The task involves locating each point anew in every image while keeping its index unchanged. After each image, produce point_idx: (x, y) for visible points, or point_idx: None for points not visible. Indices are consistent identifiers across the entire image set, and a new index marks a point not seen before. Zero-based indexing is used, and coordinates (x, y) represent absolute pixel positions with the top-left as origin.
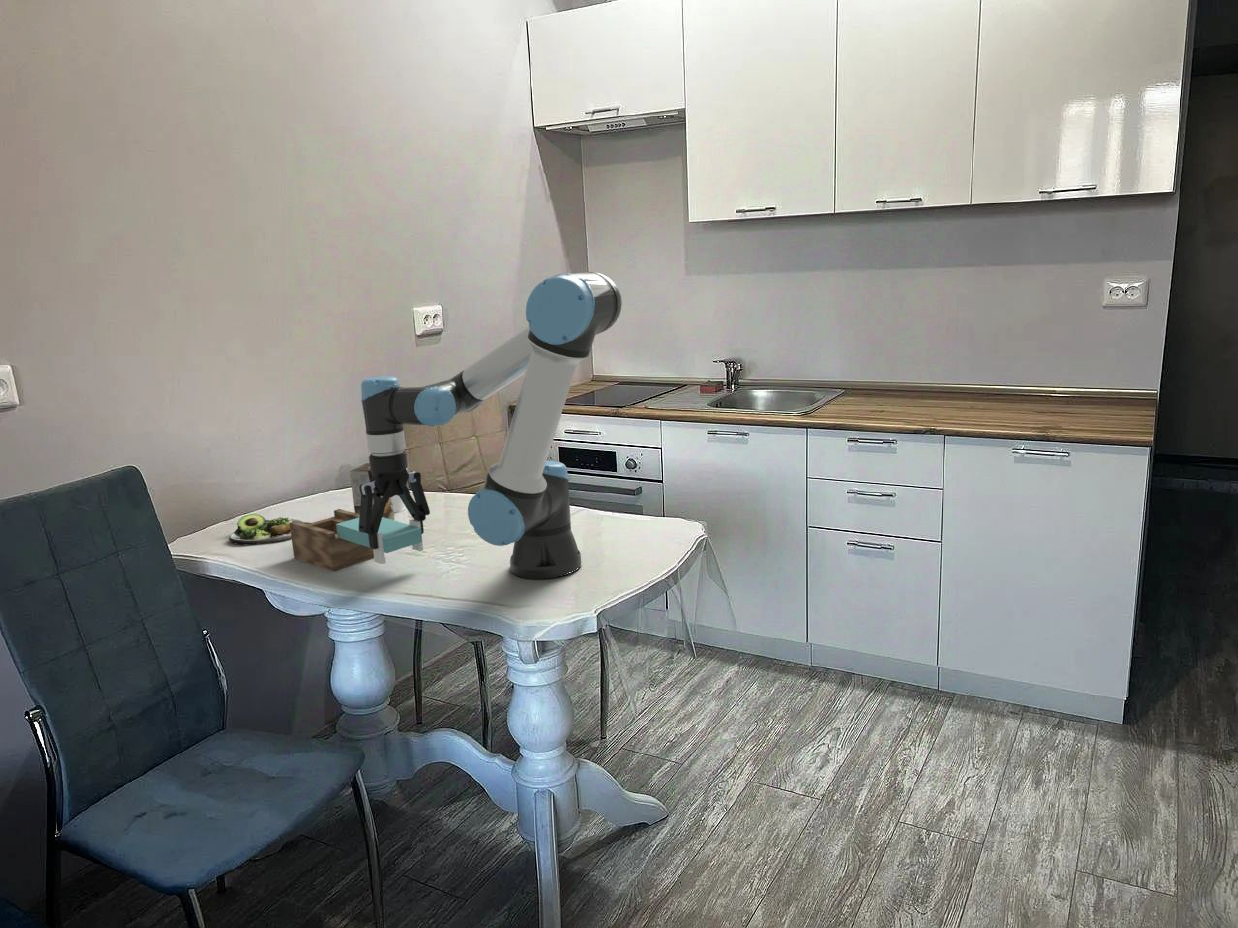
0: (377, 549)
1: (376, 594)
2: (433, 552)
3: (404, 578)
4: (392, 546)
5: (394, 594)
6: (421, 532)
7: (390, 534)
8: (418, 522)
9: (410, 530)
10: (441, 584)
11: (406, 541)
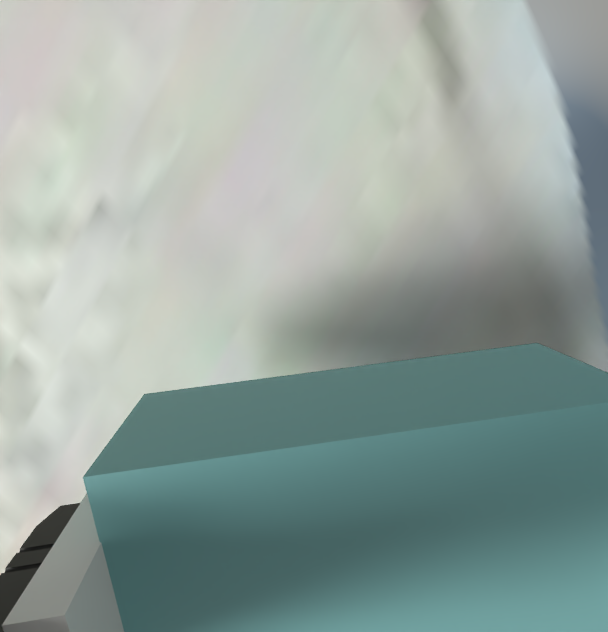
0: None
1: (548, 218)
2: (9, 555)
3: (327, 318)
4: (501, 366)
5: (498, 137)
6: (109, 442)
7: (505, 519)
8: (45, 605)
9: (246, 489)
10: (239, 47)
11: (333, 389)
